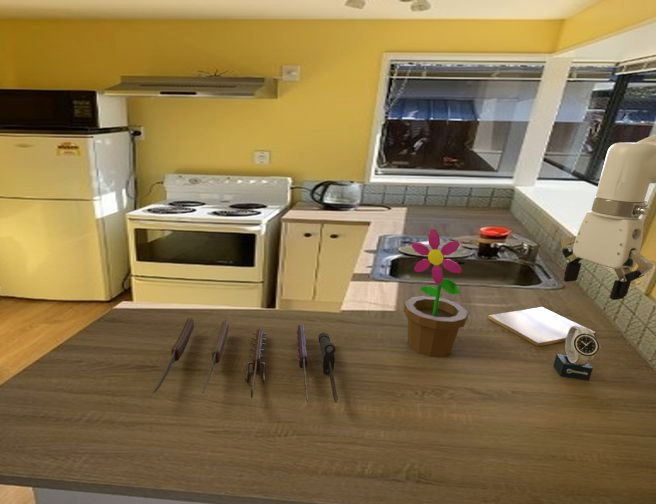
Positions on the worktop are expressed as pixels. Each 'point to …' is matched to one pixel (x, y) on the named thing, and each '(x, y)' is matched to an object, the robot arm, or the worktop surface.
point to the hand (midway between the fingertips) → (592, 289)
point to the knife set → (256, 354)
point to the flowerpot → (435, 303)
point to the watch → (577, 354)
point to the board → (536, 325)
